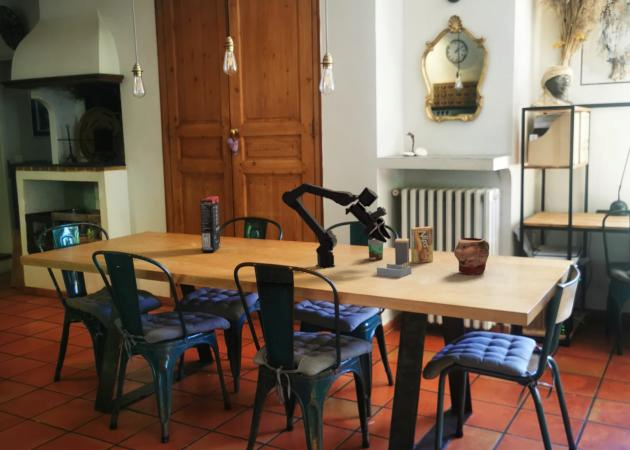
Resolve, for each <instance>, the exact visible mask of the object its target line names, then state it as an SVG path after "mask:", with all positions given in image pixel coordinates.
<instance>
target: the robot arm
mask: <svg viewBox="0 0 630 450" xmlns="http://www.w3.org/2000/svg"><path fill="white" fill-rule="evenodd" d="M305 194H311V195H314V196H318V197H321V198H325V199H327V200H331V201H333V202H334V203H336V204H338V205H340V206H342V207H346V208H345V215H346V216H347V215H349V214H350V213H351V215H352V216H353V217H354V218H355V219H357V220H358V221H357V223H359V224H362V225H363V226H364V227H365V228H364V229H363V232H362V233H363V234H364V236H365V237H368V238H371V239H373V238H374V239H376V240H379V241H381V242H384V243H383V244H386V243H387V242H388V240H391V238H392V236H391V235H390V233H389V232H388V230H387V228H386V226H385V225H386V220H385V219H384V216H386V215H387V214H388V212H387V211H386V208H385V207H383V206H379V207H376V210H375V211H371V210H369V211H368V209H367V207H368V208H369V207H371V206H372V205H373V204H374V203H375V201H376V200H377V199H378V198H379V196H378V194H377V193H376V192H375V191H373V190H372V189H371V188H369V187H367V186H366V187H364V188H363V189H362V192H360V193H359V194H354V193H352V192H350V191H347V190H345V191H344V190H334V189H330V188H326V187H322V186H320V185H315V184H312V183H309V182H304V183H302V184H301V185H299V186H298V187H295V188H294V189H290V190H287V191H285V192H283V193H282V195H281V200H282V202H283V203H284V204H285V205H286V206H287V207H288V208H290V209H291V210H294V211H295V212H296V213H297V214H298V216H299V217H300V218H301V220H303V222H304V223H305V224H306V225H307V226H308V228H309V229H310V230H311V232H313V233H314V235H315V236H316V239H317V242H318V243H319V246H318V247H317V248H316V249H315V252H316V259H317V264H316V265H315V267H318V268H320V269H327V268H333V267H336V265H335V255H334V252H333V251H334V248H335V247H336V246H337V244H338V239H337V235H336V234H334V232H333V231H332V229H328V230H327V229H325V228H324V227H323V226H322V225H321V223H320V222H319V221H318V220H317V219H316V218H315V216H313V214H312V213H311V212H310V210H309V209H308V208H307V207H306V206H305V205H304V202H303V200H302V198H301V197H302V196H303V195H305ZM354 202H356V203H354ZM349 205H350V206H349ZM347 206H349V207H347ZM387 239H388V240H387Z"/></svg>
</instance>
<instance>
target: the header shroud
mask: <svg viewBox="0 0 630 450" xmlns="http://www.w3.org/2000/svg"><path fill="white" fill-rule="evenodd" d="M412 271H413V270H412V265H411V266H410V265H409V266H408V262H407V266H406V263H404V265H403V264H402V265H395V264H392V263H386V267H378V266H377V268H376V276H383V277H388V278H389V277H391V278H400V279H401V278H404V277H406V276H409V275H411V274H412V273H413V272H412Z"/></svg>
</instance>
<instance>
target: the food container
mask: <svg viewBox="0 0 630 450" xmlns="http://www.w3.org/2000/svg"><path fill="white" fill-rule="evenodd" d="M384 244H385V243H384V242H381V241H379V240H376V239H374V238H371V239H368V240H367V245H368V262H380V261H383V258H384V256H383V255H384Z"/></svg>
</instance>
